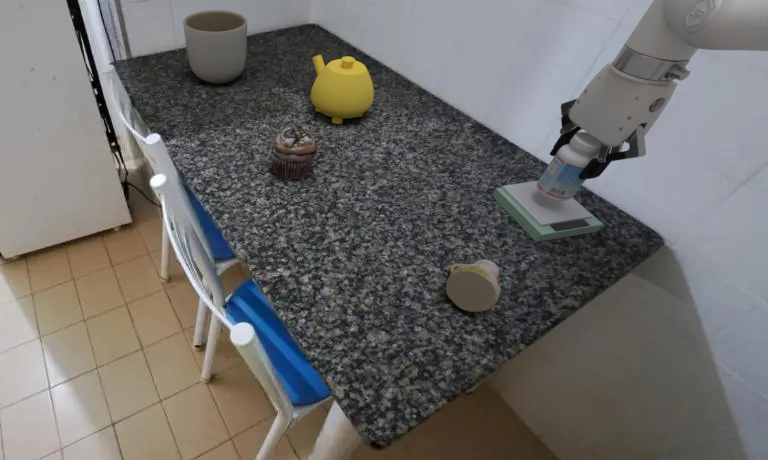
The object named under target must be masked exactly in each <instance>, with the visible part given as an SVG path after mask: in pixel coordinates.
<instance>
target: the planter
mask: <svg viewBox="0 0 768 460" xmlns="http://www.w3.org/2000/svg"><path fill="white" fill-rule="evenodd" d="M182 25H183V33H184V40H185V47H186V54H187V59H188V63H189V66H190V69H191V71H192V72H193V74H194V76H196V77H197V78H199V79H200V80H201V81H204V82H206V83H209V84H216V85H218V84H219V85H221V84H225V83H226V84H227V83H230V82H232V81H234V80H235V79H237V78H238V77H239V76H240V75H241V74H242V73H243V71H244V70H245V67H246V62H247V51H248V19H247V18H246V17H245V16H244V15H242V14H241V13H238V12H235V11H231V10H224V9H209V10H202V11H201V10H200V11H197V12H193V13H191V14H188V15H187V16H185V17H184V19H183V21H182Z"/></svg>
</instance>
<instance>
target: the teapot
mask: <svg viewBox="0 0 768 460" xmlns="http://www.w3.org/2000/svg"><path fill="white" fill-rule="evenodd" d="M311 60H312V64H313V66H314V70H315V72H316V73H315V74H316V78H315V81H314V82H313V85H312V87H311V90H310V95H309V96H310V101H311V103H312V104H313V106H314V107H315V111H316V112H318V113H321V114H323V115H325V116H328V117H330V118H331V122H332V124H335V125H341V124H342V123H343V122H344V120H345V119H353V118H361V117H363V115H364V114H365V112H367V111H368V110H369V109H370V108H371V107H372V105H373V102H374V96H375V91H374V89H375V88H374V84H373V81H372V78H371V75H370V72H369V70H368V68H367V67H366V65H365V64H363V63H362V62H361V61H358V60H356V58H355V57H353V56H349V55H348V56H347V55H345V56H342V57H341V58H338V59H333V60H331V61H329V62H328V63H326V65H325V62H324V59H323V55H322V54H317V55H315V56H313V57H311Z"/></svg>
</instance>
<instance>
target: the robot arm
mask: <svg viewBox="0 0 768 460" xmlns="http://www.w3.org/2000/svg"><path fill="white" fill-rule="evenodd" d="M698 50H708V51H749V52H750V51H751V52H752V51H753V52H754V51H755V52H759V51H760V52H768V0H652V2H651V4H650V5H649V6H648V7H647V10H646V11H645V13H644V14H643V16H642V17H641V19H640V20H639V21H638V23H637V25H636V26H635V28H634V29H633V31H632V32H631V33H630V35H629V37H628V38H627V39H626V41H625V43H624V44H623V45H622V47H621V49H620V50H619V51H618V53H617V54H616V56H615V57H614V59H613V60H611V61H610V60H609V61H608V62H607V63H606V64H605V65H604V66H603V67H602V68H601V69H600V70H599V71H598V72H597V73H596V74H595V75H594V77H593V78H592V79H591V80H590V81H589V83H588V84H587V85H586V86H585V87H584V89H583V90H582V92H581V93H580V95H578V97H576V98H575V99H571V100H568V101H566V102H563V103H561V104H560V115H561V118H560V122H561V128H560V130H559V133H560V136H559V137H558V138H557V140H556V142H555V143H554V145H553V147H552V149H551V150H550V152H549V155H550V157H554V156H555V155H556V153H557V152H558V150H559V149H560V148H561V147H562V146H564V145H566V144H570V140H571V139H572V138H573V136H574V135H575V134H576V133H579V132H582V130H583V131H584V132H587V133H589V134H590V135H592V136H593V137H595V138H596V139H598V140H599V141H601V142H602V144H601V147H600V151H599V154H598V158H594V159H592V160H591V161H590V162H589V163H588V165H587V166H586V167H585V169H584V170H583V171H582V172H581V174H580V175H579V178H580V179H581V180H585V179H586V180H590V179H596V178H599V177H600V176H601V175H602V173H604V172H605V170H606V169H607V168H608V167H609V165H610V164H611V163H612V162H617V161H623V160H628V159H635V158H642V157H645V156H646V154H647V150H646V141H645V136H647V134H648V132H649V131H650V130H651V129H652V127H653V126H654V125H655V123H656V122H657V120H658V119H659V118H660V116H661V115H662V114H663V111H664V110H665V109H666V107H667V105H668V104H669V102H670V100H671V99H672V97H673V95H674V93H675V91H676V89H677V86H678V83H677V82H676V81H674V80H678V82H679V81H680V82H681V81H684V80H686V78H688V77H689V76H690V74H691V70H688V69H687V68H686V67H687V65H688V64H689V63H690V61H691V59H692V58H693V56H694V55H695V54H696V53H697V51H698ZM625 143H626V144H628V146H629V148H628V149H627V150H624V151H622V150H623V147H624V144H625ZM586 180H585V181H586Z"/></svg>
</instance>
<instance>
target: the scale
mask: <svg viewBox="0 0 768 460" xmlns="http://www.w3.org/2000/svg"><path fill="white" fill-rule="evenodd" d="M537 182H538V180H533V181H527V182H519V183H512V184H505V185H502V186H501V187H496V188H495V189H494V191H493V192H492V194H491V198H493V199H494V200H495V201H496V202H497V203H498V204H499V205H500V207H502V209H504V210H505V212H507V213H508V215H510V217H511V218H512V219H513V220H514V221H515V222H516V223H517V224H518V225H519V226H520V228H521V229H522V230H524V232H525V233H526V234H528V236H529V237H530V238H531V239H532V240H533V241H534V242H535V243H539V242H545V241H550V240H556V239H558V240H559V239H563V238H568V237H576V236H580V235H587V234H592V233H597V232H598V231H599V230H600V229H601V228H602V227H603V226H604V223H602V222H601V221H600V220H599V219H598V218H597V217H595V216H594V214H593V213H591V211H589V210H588V209H586V208H585V207H584V206H583V205H582V204H581V203H580V202H579V201H577V200H576V199H575V198H574V197H572V198H570V199H568V200H565V201H558V200H553V199H550V198H548V197H546V196H544V195H543V194H541V193H540V192H539V191H538V189H537V187H536V185H537Z"/></svg>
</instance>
